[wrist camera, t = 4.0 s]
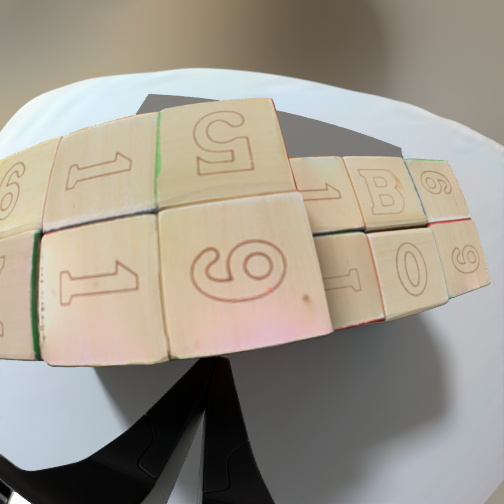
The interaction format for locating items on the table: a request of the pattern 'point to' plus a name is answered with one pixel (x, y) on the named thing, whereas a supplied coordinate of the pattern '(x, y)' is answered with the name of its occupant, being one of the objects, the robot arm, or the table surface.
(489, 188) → the table surface
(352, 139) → the mat
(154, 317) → the stack of blocks
